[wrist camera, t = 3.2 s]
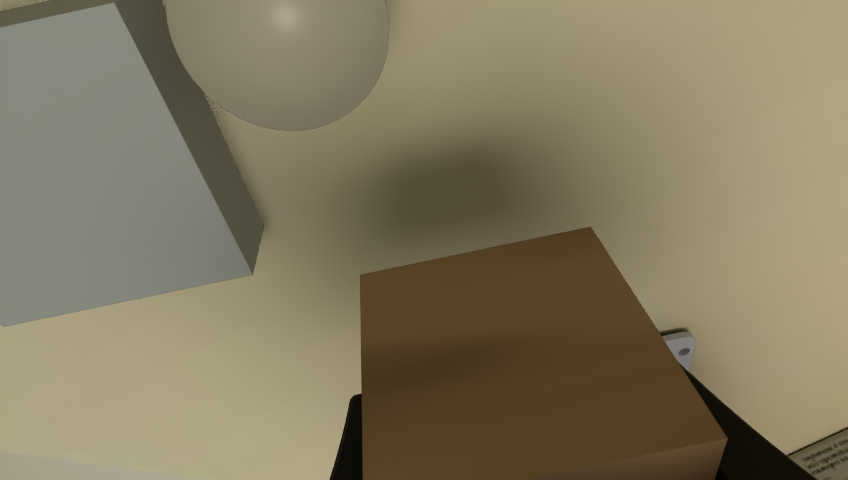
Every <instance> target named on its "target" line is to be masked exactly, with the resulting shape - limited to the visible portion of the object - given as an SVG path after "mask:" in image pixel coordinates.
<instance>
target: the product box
mask: <svg viewBox="0 0 848 480" xmlns="http://www.w3.org/2000/svg"><path fill="white" fill-rule="evenodd" d="M788 457H789V458H790V459H791V460H793V461H794V462H795V463H796V464H798V465H799V466H800V467H802V468H803V469H804V470H806V471H807V472H808V473H810V474H811V475H812V476H813V477H815V478H816V479H818V480H848V429H847V430H844V431H842V432H840V433H838V434H836V435H833V436H831V437H829V438H827V439H825V440H823V441H820V442H818V443H816V444H814V445H812V446H809V447H807V448H805V449H803V450H801V451H798V452H796V453H794V454H792V455H790V456H788Z"/></svg>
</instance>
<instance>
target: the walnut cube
mask: <svg viewBox="0 0 848 480" xmlns="http://www.w3.org/2000/svg"><path fill="white" fill-rule="evenodd" d="M360 305H361V378H362V451H363V480H715V477H716V474H717V471H718V467H719V464H720V461H721V458H722V455H723V452H724V449H725V445H726V442H727V439H728V438H727V437H726V435H725V434H724V432H723V431H722V429H721V428H720V426H719V424H718V423H717V421H716V420H715V418H714V417H713V415H712V414H711V412H710V411H709V409H708V407H707V406H706V404H705V403H704V401H703V400H702V398H701V397H700V395H699V394H698V392H697V390H696V389H695V387H694V386H693V384H692V383H691V381H690V380H689V378H688V377H687V375H686V373H685V372H684V370H683V369H682V367H681V366H680V364H679V363H678V361H677V359H676V358H675V356H674V355H673V353H672V352H671V350H670V349H669V347H668V346H667V344H666V342H665V341H664V339H663V338H662V336H661V335H660V333H659V332H658V330H657V329H656V327H655V325H654V324H653V322H652V321H651V319H650V318H649V316H648V315H647V313H646V312H645V310H644V308H643V307H642V305H641V304H640V302H639V301H638V299H637V298H636V296H635V295H634V293H633V291H632V290H631V288H630V287H629V285H628V284H627V282H626V281H625V279H624V278H623V276H622V274H621V273H620V271H619V270H618V268H617V267H616V265H615V264H614V262H613V260H612V259H611V257H610V256H609V254H608V253H607V251H606V250H605V248H604V247H603V245H602V243H601V242H600V240H599V239H598V237H597V236H596V234H595V233H594V231H593V230H592V228H591V227H588V228H583V229H578V230H573V231H569V232H564V233H559V234H554V235H549V236H545V237H540V238H535V239H530V240H525V241H521V242H516V243H511V244H506V245H501V246H497V247H492V248H487V249H482V250H477V251H473V252H468V253H463V254H458V255H453V256H449V257H444V258H439V259H434V260H430V261H425V262H420V263H415V264H410V265H406V266H401V267H396V268H391V269H386V270H382V271H377V272H372V273H367V274H362V275H360Z"/></svg>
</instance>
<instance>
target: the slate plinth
mask: <svg viewBox="0 0 848 480" xmlns="http://www.w3.org/2000/svg"><path fill="white" fill-rule="evenodd" d="M263 228H264V225H263V223H262V221H261V219H260V216H259V214H258V212H257V210H256V208H255V205H254V203H253V201H252V199H251V197H250V194H249V192H248V190H247V188H246V186H245V183H244V181H243V179H242V177H241V175H240V172H239V170H238V168H237V166H236V164H235V161H234V159H233V157H232V155H231V153H230V150H229V148H228V146H227V144H226V142H225V139H224V137H223V135H222V133H221V131H220V128H219V126H218V124H217V122H216V119H215V117H214V115H213V113H212V111H211V108H210V106H209V104H208V102H207V100H206V97H205V95H204V93H203V91H202V90H201V88H200V87H199V86H198V85H197V84H196V83H195V81H194V80H193V79H192V77H191V76H190V75H189V73H188V72H187V70H186V69H185V67H184V65H183V64H182V62H181V60H180V58H179V56H178V54H177V52H176V49H175V47H174V44H173V42H172V39H171V35H170V31H169V28H168V23H167V15H166V9H165V7H164V5H163V3H162V0H51V1H46V2H42V3H37V4H33V5H28V6H24V7H19V8H14V9H10V10H5V11H1V12H0V324H1V325H2V326H3V327H6V326H11V325H16V324H20V323H25V322H30V321H35V320H39V319H44V318H49V317H54V316H59V315H63V314H68V313H73V312H78V311H82V310H87V309H92V308H97V307H101V306H106V305H111V304H116V303H121V302H125V301H130V300H135V299H140V298H144V297H149V296H154V295H159V294H163V293H168V292H173V291H178V290H182V289H187V288H192V287H197V286H202V285H206V284H211V283H216V282H221V281H225V280H230V279H235V278H240V277H244V276H249V275H253V272H254V268H255V263H256V259H257V255H258V250H259V246H260V242H261V237H262V233H263Z"/></svg>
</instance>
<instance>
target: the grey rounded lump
mask: <svg viewBox="0 0 848 480" xmlns="http://www.w3.org/2000/svg"><path fill="white" fill-rule="evenodd" d="M166 15H167V23H168V28H169V31H170V35H171V39H172V42H173V44H174V47H175V49H176V52H177V54H178V56H179V58H180V60H181V62H182V64H183V65H184V67H185V69H186V70H187V72H188V73H189V75H190V76H191V77H192V79H193V80H194V81H195V83H196V84H197V85H198V86H199V87H200V88H201V90H202V91H203V92H204V93H205V94H206V95H208V96H209V97H210V98H211V99H212V100H213V101H214V102H215V103H217V104H218V105H219V106H221V107H222V108H224V109H225V110H226V111H228V112H230V113H231V114H233V115H235V116H237V117H238V118H241V119H243V120H245V121H247V122H250V123H252V124H255V125H259V126H262V127H266V128H271V129H275V130H286V131H297V130H307V129H314V128H318V127H321V126H324V125H327V124H330V123H332V122H334V121H337V120H339V119H340V118H342V117H344V116H345V115H347V114H348V113H350V112H351V111H352V110H353V109H355V108H356V107H357V106H358V105H359V104H360V103H361V102H362V101H363V100H364V99H365V98H366V97H367V95H368V94H369V93H370V91H371V90H372V89H373V87H374V85H375V84H376V82H377V80H378V78H379V76H380V74H381V71H382V68H383V66H384V63H385V59H386V54H387V50H388V40H389V22H388V15H387V8H386V4H385V0H166Z"/></svg>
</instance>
